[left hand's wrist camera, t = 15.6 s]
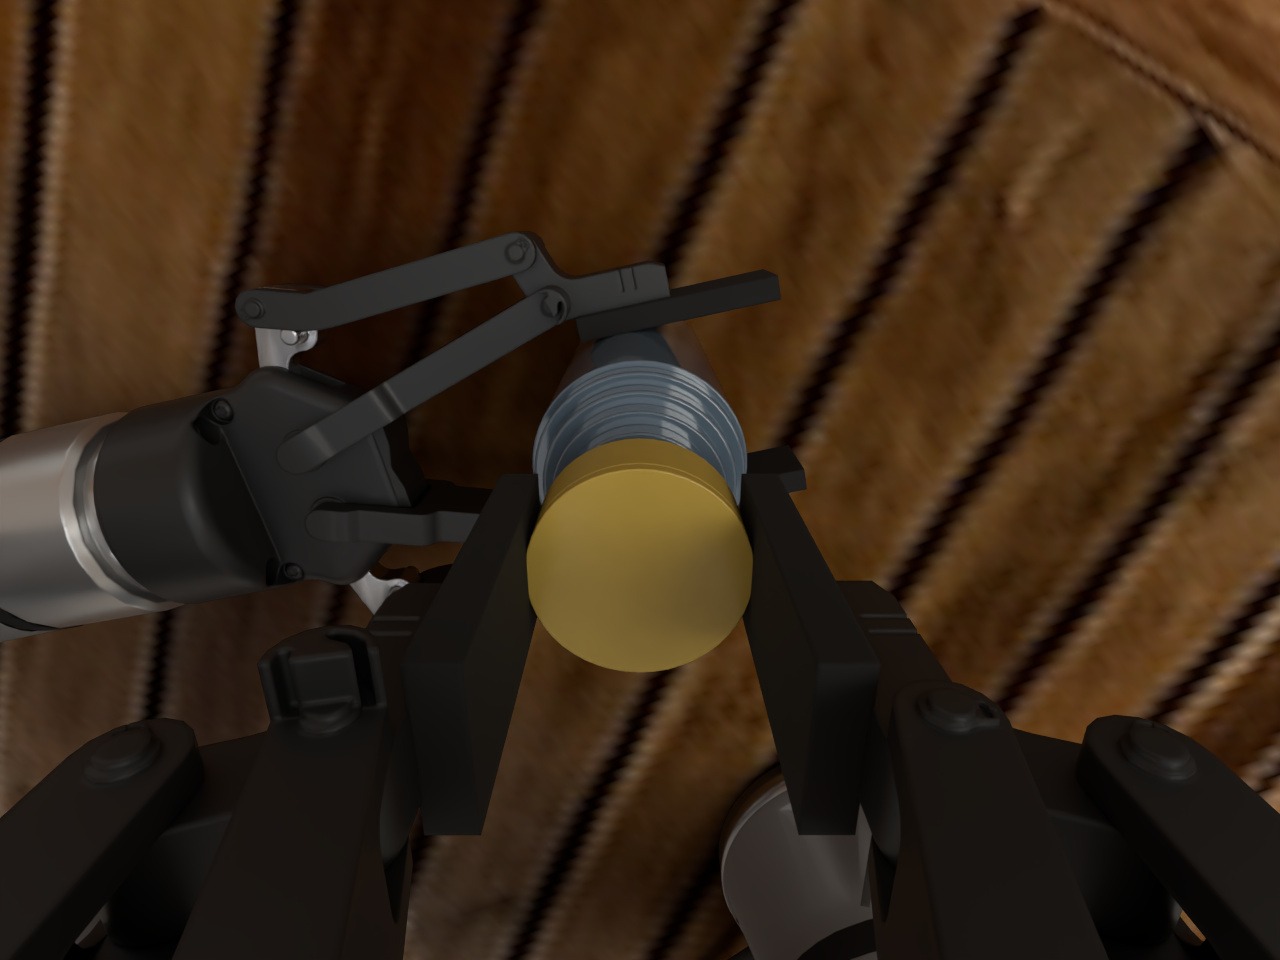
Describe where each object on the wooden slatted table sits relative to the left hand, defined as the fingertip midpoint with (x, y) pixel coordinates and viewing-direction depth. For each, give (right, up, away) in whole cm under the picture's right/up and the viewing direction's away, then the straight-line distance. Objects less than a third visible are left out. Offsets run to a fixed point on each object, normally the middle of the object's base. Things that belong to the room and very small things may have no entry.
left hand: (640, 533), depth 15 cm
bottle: (0, +6, +16) cm, 17 cm away
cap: (0, -1, -1) cm, 2 cm away
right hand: (+5, +5, +9) cm, 11 cm away
